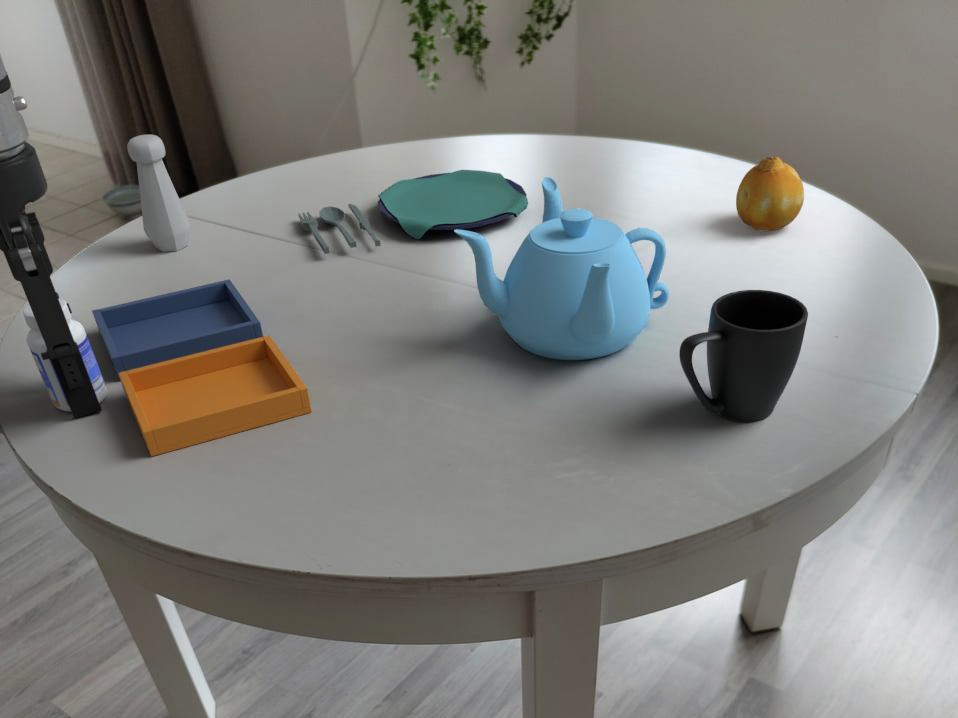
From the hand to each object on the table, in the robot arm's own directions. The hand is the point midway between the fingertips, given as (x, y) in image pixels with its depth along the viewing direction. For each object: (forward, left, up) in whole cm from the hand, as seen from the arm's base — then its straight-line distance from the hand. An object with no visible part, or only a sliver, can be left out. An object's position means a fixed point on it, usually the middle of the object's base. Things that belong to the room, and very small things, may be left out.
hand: (81, 396), depth 94 cm
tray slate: (+12, +8, 0) cm, 14 cm away
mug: (+54, -34, -1) cm, 64 cm away
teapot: (+49, -12, 0) cm, 50 cm away
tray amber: (+12, -8, 0) cm, 14 cm away
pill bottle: (0, 0, -1) cm, 1 cm away
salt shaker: (+17, +35, 0) cm, 39 cm away
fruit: (+85, 0, -1) cm, 85 cm away
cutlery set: (+48, +26, 0) cm, 54 cm away
